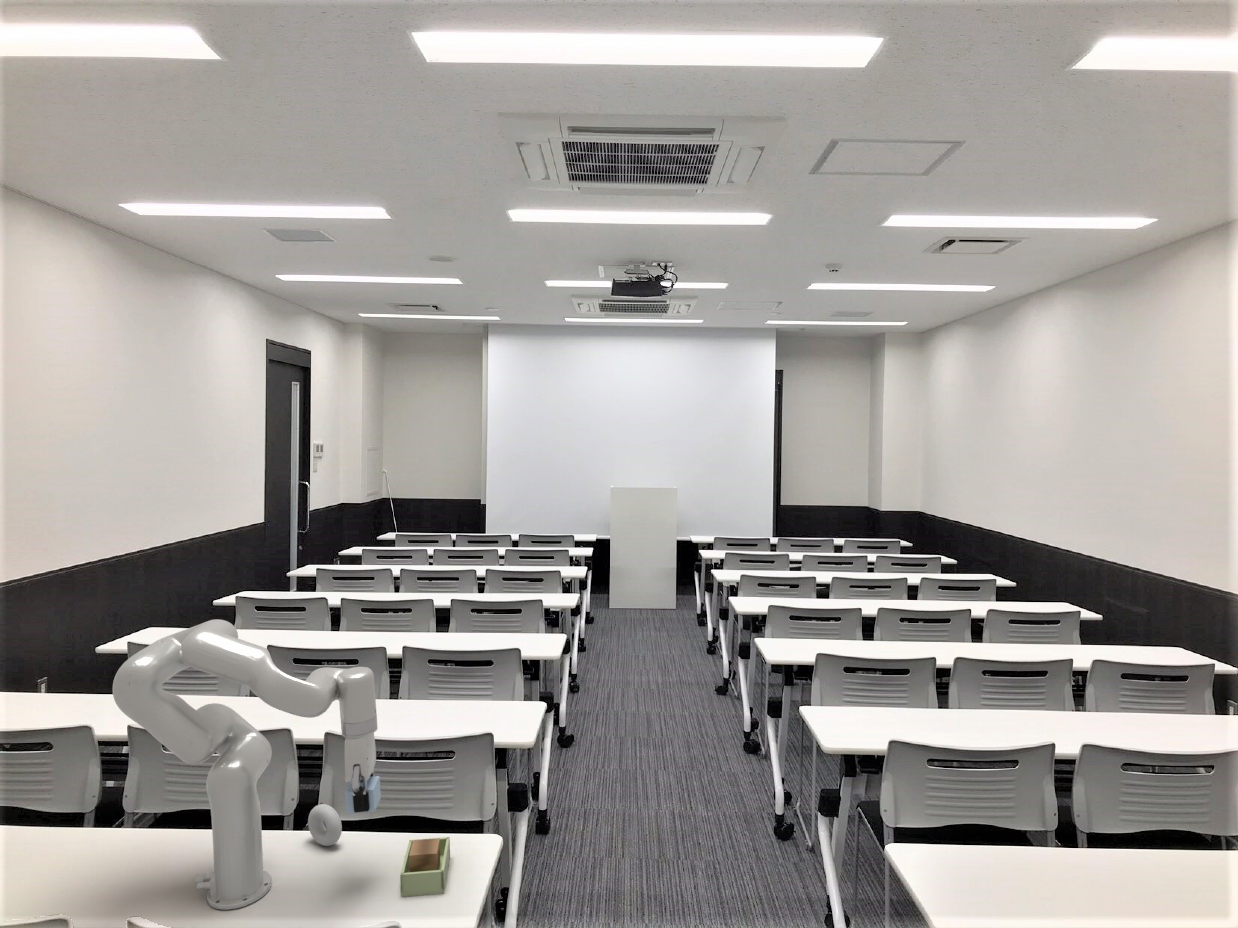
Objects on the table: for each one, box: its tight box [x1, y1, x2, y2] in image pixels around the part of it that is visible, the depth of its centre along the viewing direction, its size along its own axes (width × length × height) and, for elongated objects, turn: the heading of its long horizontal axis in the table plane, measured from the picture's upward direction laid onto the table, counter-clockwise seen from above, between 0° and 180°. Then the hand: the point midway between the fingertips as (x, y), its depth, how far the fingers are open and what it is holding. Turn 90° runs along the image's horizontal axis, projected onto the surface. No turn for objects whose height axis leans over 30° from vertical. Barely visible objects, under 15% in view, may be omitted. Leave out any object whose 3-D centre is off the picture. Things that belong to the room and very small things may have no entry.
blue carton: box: [344, 775, 382, 815], centre depth 166 cm, size 6×6×5 cm
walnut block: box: [409, 837, 441, 872], centre depth 168 cm, size 6×6×6 cm
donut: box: [307, 803, 343, 847], centre depth 181 cm, size 10×3×10 cm, turn 62°
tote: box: [399, 836, 451, 898], centre depth 169 cm, size 9×13×5 cm
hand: (365, 802), depth 166 cm, fingers closed on blue carton, 6 cm apart
